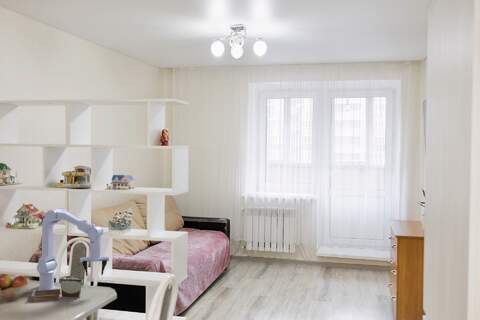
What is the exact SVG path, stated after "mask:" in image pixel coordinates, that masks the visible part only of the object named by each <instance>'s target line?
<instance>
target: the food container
mask: <svg viewBox="0 0 480 320" xmlns="http://www.w3.org/2000/svg"><path fill="white" fill-rule="evenodd" d="M58 281H59V282H60V295H61V298H70V299H80V298H81V292H82V286H83V285H82V284H83V283H84V278H83V277H82V276H81V275H65V276H62V277H61V276H60V278H59V279H58ZM59 282H58V283H59Z"/></svg>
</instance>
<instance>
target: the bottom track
mask: <svg viewBox="0 0 480 320" xmlns="http://www.w3.org/2000/svg"><path fill="white" fill-rule="evenodd" d="M60 295H61V288H54V289H48V290H38V289H36V288H34V289H33V290H32V292H31V297H30V302H31V303H36V302H38V303H39V302H50V301H51V302H52V301H53V302H54V301H60Z"/></svg>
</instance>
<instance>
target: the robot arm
mask: <svg viewBox="0 0 480 320" xmlns="http://www.w3.org/2000/svg"><path fill="white" fill-rule="evenodd" d="M61 221H66V222H67V223H71V224H72V225H75V226H76V227H77V229H78V230H79V231H81V232H83V233H84V234H86V235H87V237H88V239H89V251H88V252H89V253H88V257H80V258H79V260H80V261H79V262H80V263H81V265H82V266H83V269H84V271H85V276H86V277H88V262H89V263H92V262H101V273H100V274H101V276H103V275H104V271H105V269H106V268H105V267H106V266H107V264H108V262H110V256H102V255H101V253H102V252H101V251H102V250H101V248H102V236H103V234H104V229H103V228H102V227H101V225H95V223H91V222H89V221H88V219H79V218H77V217H76V216H75V215H73V214H71V213H70V212H69V211H68V210H66V209H64V208H63V207H61V208H56V209H49V210H48V211H46V212H45V213H44V218H43V219H42V224H41V229H42V230H41V233H42V234H41V256H40V257H39V258H38V259H37V265H36V270H37V272H38V275H39V282H38V283H39V285H38V289H37V290H48V289H56V288H55V287H56V284H54V283H55V271H56V269H57V267H58V262H57V258H56V255H55V254H54V225H56V224H57V223H58V222H61Z"/></svg>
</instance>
